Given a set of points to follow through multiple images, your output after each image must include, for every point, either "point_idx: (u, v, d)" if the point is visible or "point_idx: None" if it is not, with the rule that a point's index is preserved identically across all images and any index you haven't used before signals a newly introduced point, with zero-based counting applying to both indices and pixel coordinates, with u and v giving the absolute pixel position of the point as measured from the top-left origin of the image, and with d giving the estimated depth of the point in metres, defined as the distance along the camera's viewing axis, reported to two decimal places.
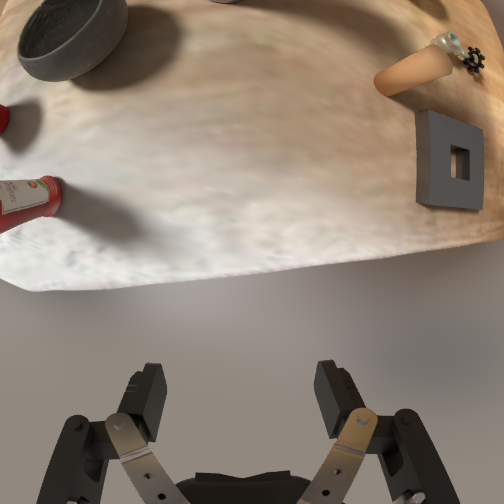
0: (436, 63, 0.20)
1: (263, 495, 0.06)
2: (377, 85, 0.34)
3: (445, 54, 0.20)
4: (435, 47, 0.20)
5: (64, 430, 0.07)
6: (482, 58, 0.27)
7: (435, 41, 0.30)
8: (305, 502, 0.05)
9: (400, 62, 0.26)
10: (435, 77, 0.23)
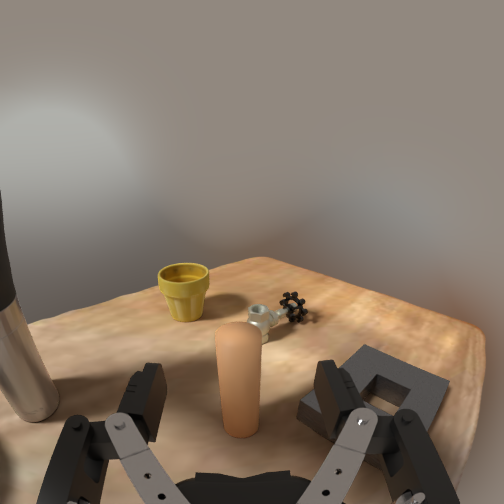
0: (237, 343, 0.24)
1: (263, 495, 0.06)
2: (233, 433, 0.27)
3: (240, 324, 0.26)
4: (223, 328, 0.26)
5: (64, 430, 0.07)
6: (295, 295, 0.52)
7: None
8: (305, 502, 0.05)
9: (219, 386, 0.27)
10: (255, 360, 0.24)
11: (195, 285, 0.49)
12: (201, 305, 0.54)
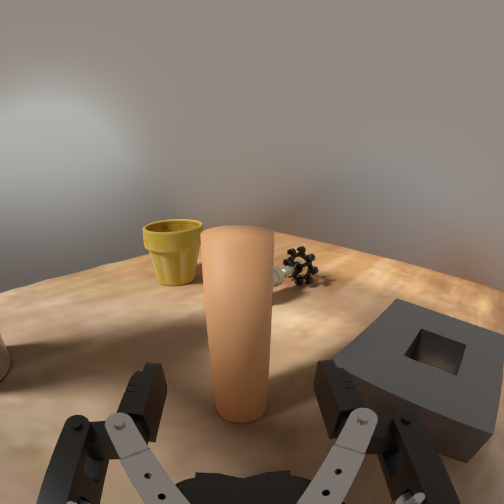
0: (234, 239, 0.15)
1: (263, 495, 0.06)
2: (229, 415, 0.19)
3: (239, 226, 0.18)
4: (214, 229, 0.17)
5: (64, 430, 0.07)
6: (302, 249, 0.43)
7: None
8: (305, 502, 0.05)
9: None
10: (264, 273, 0.16)
11: (185, 235, 0.41)
12: (193, 265, 0.45)
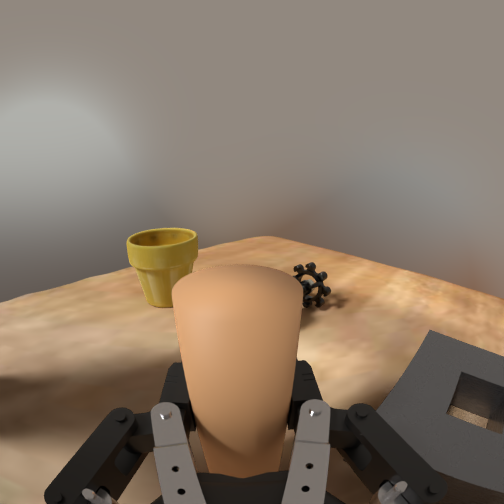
0: (232, 307, 0.08)
1: (263, 495, 0.06)
2: None
3: (241, 269, 0.11)
4: (198, 276, 0.10)
5: (107, 419, 0.08)
6: (312, 266, 0.36)
7: None
8: (305, 502, 0.05)
9: (195, 421, 0.11)
10: (285, 361, 0.08)
11: (176, 250, 0.34)
12: None
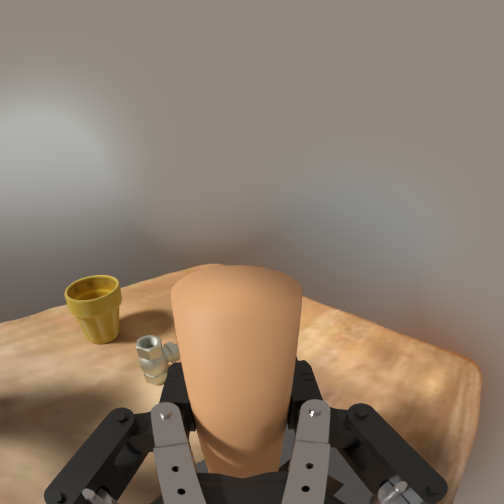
0: (231, 308, 0.08)
1: (263, 495, 0.06)
2: None
3: (241, 270, 0.11)
4: (198, 277, 0.10)
5: (106, 419, 0.08)
6: None
7: (143, 370, 0.33)
8: (305, 502, 0.05)
9: None
10: (284, 362, 0.08)
11: (96, 304, 0.37)
12: (112, 326, 0.41)
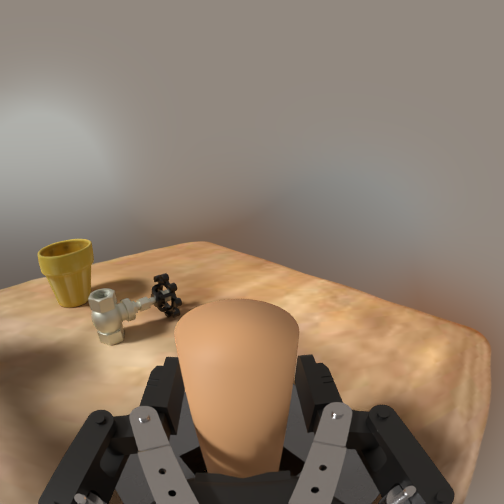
0: (232, 352, 0.08)
1: (263, 495, 0.06)
2: None
3: (241, 305, 0.11)
4: (199, 313, 0.10)
5: (86, 423, 0.08)
6: (164, 277, 0.36)
7: None
8: (305, 502, 0.05)
9: None
10: (281, 395, 0.09)
11: (65, 260, 0.34)
12: (82, 288, 0.38)
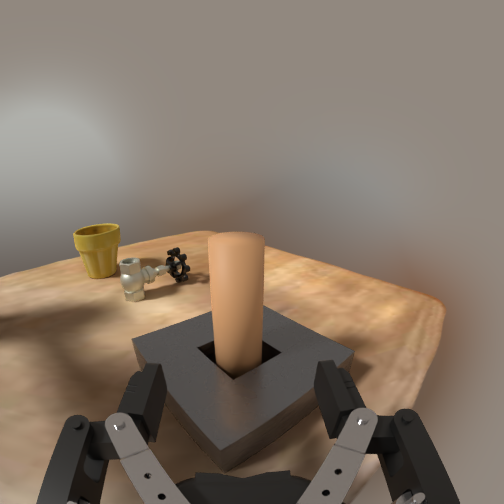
0: (234, 243, 0.20)
1: (263, 495, 0.06)
2: None
3: (238, 233, 0.23)
4: (218, 235, 0.22)
5: (64, 430, 0.07)
6: (176, 250, 0.48)
7: (123, 288, 0.41)
8: (305, 502, 0.05)
9: (212, 317, 0.23)
10: (256, 269, 0.21)
11: (99, 238, 0.46)
12: (111, 262, 0.50)
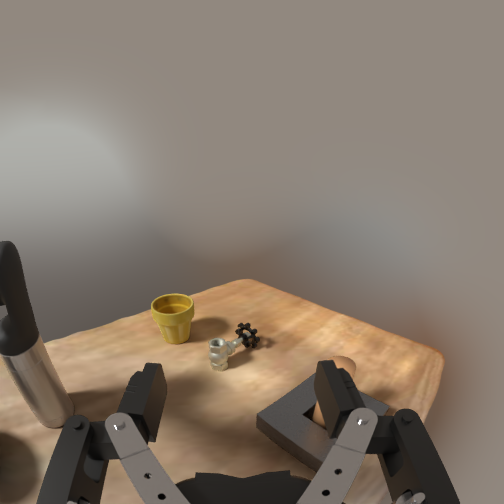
0: None
1: (263, 495, 0.06)
2: None
3: (338, 358, 0.35)
4: None
5: (64, 429, 0.07)
6: (248, 325, 0.60)
7: (212, 362, 0.53)
8: (305, 502, 0.05)
9: None
10: None
11: (181, 315, 0.58)
12: (188, 330, 0.62)
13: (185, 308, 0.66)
